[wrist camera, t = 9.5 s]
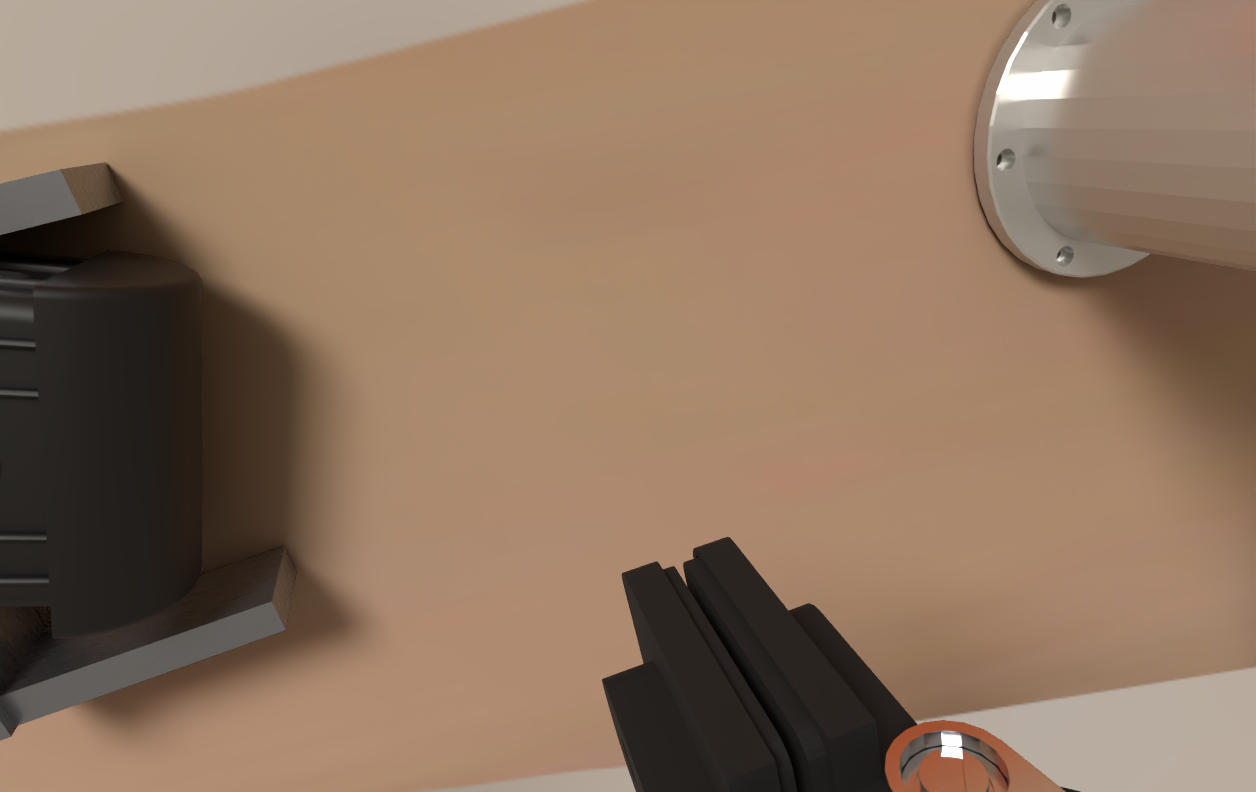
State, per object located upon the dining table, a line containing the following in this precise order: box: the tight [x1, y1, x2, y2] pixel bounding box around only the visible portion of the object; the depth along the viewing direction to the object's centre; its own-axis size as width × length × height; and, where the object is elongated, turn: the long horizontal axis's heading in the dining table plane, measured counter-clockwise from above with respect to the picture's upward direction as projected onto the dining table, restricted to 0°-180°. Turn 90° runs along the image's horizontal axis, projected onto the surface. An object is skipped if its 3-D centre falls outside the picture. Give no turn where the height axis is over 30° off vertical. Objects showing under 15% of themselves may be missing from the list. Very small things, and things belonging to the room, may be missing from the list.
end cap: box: [0, 250, 202, 639], centre depth 24 cm, size 10×7×7 cm
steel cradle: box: [0, 163, 297, 740], centre depth 24 cm, size 10×15×5 cm, turn 15°
